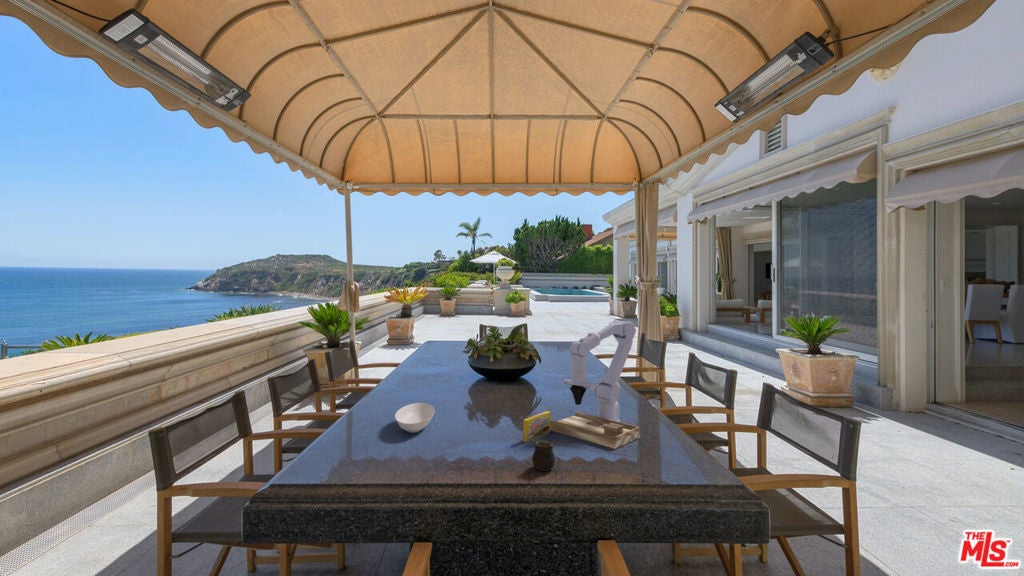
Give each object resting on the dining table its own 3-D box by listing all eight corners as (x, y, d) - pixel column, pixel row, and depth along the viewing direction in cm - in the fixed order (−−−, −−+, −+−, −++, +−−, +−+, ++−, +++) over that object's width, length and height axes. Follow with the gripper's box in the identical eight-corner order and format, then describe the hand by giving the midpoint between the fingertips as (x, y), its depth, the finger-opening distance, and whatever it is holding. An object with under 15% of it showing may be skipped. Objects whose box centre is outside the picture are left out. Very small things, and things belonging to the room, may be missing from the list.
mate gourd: (540, 462, 150) (541, 431, 150) (560, 468, 146) (561, 437, 146) (527, 468, 145) (528, 437, 145) (546, 475, 140) (548, 442, 140)
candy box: (526, 443, 169) (527, 420, 169) (521, 441, 171) (522, 419, 171) (550, 432, 182) (550, 411, 182) (545, 431, 183) (546, 410, 183)
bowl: (429, 439, 171) (430, 423, 171) (388, 440, 170) (388, 423, 170) (437, 417, 201) (437, 403, 201) (402, 417, 200) (402, 403, 200)
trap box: (575, 420, 198) (576, 411, 198) (639, 437, 177) (640, 427, 177) (549, 429, 185) (549, 419, 185) (614, 448, 164) (615, 437, 164)
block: (611, 433, 174) (611, 422, 174) (623, 436, 170) (623, 425, 170) (603, 436, 170) (604, 425, 170) (615, 439, 167) (616, 428, 167)
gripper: (558, 369, 191) (558, 402, 191) (587, 374, 181) (587, 409, 181) (568, 367, 196) (568, 399, 196) (598, 372, 186) (597, 406, 186)
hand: (578, 404), depth 189 cm, fingers closed
